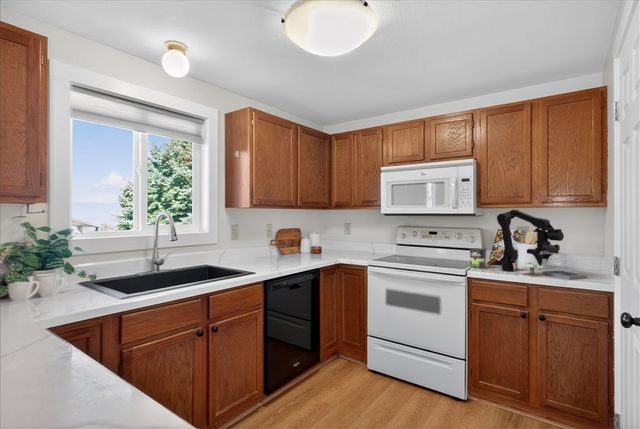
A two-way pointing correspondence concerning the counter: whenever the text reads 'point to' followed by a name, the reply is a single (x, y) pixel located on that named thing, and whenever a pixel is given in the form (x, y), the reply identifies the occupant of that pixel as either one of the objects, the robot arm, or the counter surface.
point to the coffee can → (478, 258)
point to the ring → (536, 264)
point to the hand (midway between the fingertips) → (542, 265)
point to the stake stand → (532, 273)
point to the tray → (564, 275)
